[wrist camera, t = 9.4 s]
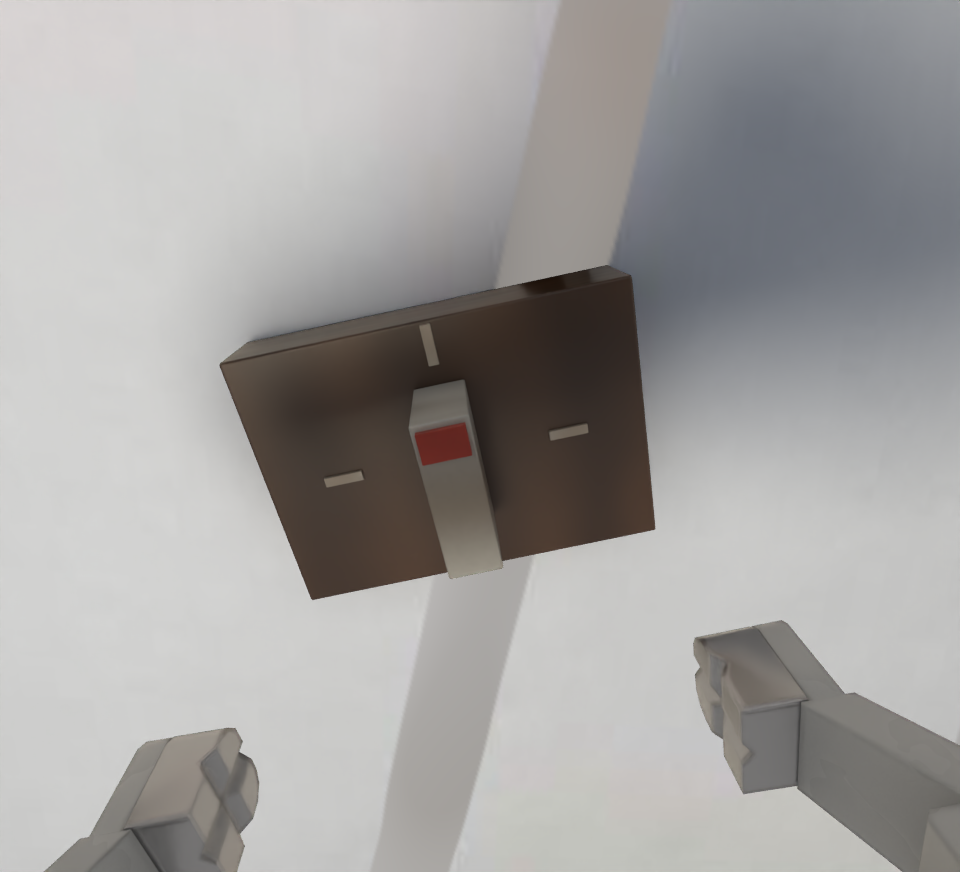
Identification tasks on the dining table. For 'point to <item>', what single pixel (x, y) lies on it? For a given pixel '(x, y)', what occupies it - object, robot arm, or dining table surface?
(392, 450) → the dial panel
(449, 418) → the dial knob
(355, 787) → the dining table surface
